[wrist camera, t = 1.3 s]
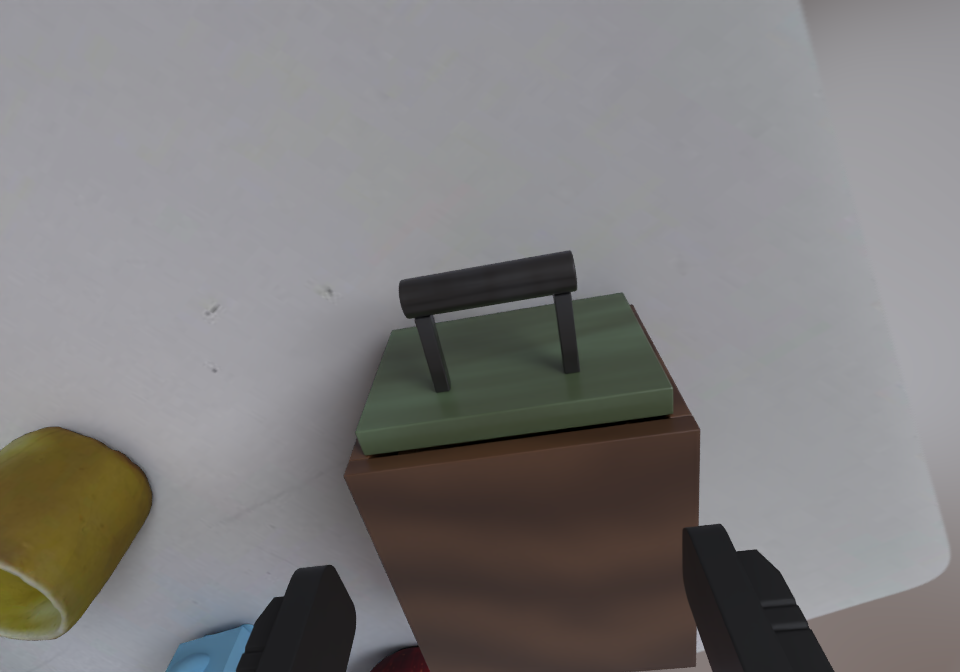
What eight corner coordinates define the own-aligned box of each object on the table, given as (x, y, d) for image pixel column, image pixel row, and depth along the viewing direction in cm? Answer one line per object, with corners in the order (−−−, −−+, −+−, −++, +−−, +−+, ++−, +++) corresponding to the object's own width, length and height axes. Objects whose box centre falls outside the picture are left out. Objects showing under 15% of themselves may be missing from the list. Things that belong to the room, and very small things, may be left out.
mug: (71, 395, 27) (-87, 606, 20) (207, 480, 34) (122, 655, 27) (-70, 411, 30) (-240, 592, 24) (79, 485, 38) (-21, 638, 31)
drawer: (362, 240, 23) (308, 320, 16) (616, 193, 22) (672, 258, 15) (451, 515, 32) (439, 642, 25) (636, 493, 30) (677, 621, 24)
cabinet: (389, 343, 27) (342, 476, 18) (632, 303, 25) (701, 429, 17) (450, 529, 34) (436, 687, 25) (644, 507, 32) (696, 667, 24)
